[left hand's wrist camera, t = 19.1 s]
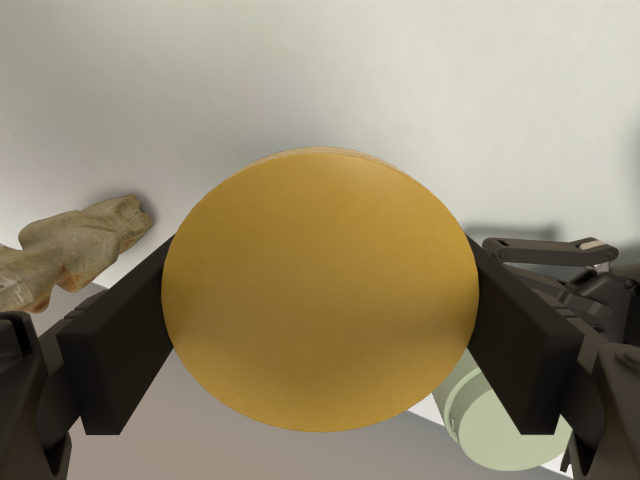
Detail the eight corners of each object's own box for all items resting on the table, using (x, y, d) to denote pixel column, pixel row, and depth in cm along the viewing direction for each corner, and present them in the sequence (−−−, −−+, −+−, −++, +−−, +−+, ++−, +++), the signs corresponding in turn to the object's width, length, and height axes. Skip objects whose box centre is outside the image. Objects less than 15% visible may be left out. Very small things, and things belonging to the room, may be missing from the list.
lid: (454, 122, 10) (479, 124, 8) (460, 378, 13) (480, 415, 12) (144, 173, 10) (112, 184, 9) (221, 408, 14) (208, 447, 12)
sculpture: (74, 208, 34) (-98, 277, 20) (137, 178, 33) (3, 229, 19) (110, 258, 36) (-25, 354, 22) (170, 232, 35) (70, 314, 21)
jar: (411, 338, 40) (473, 490, 24) (384, 277, 37) (433, 402, 21) (485, 310, 38) (602, 451, 23) (462, 245, 36) (577, 352, 20)
